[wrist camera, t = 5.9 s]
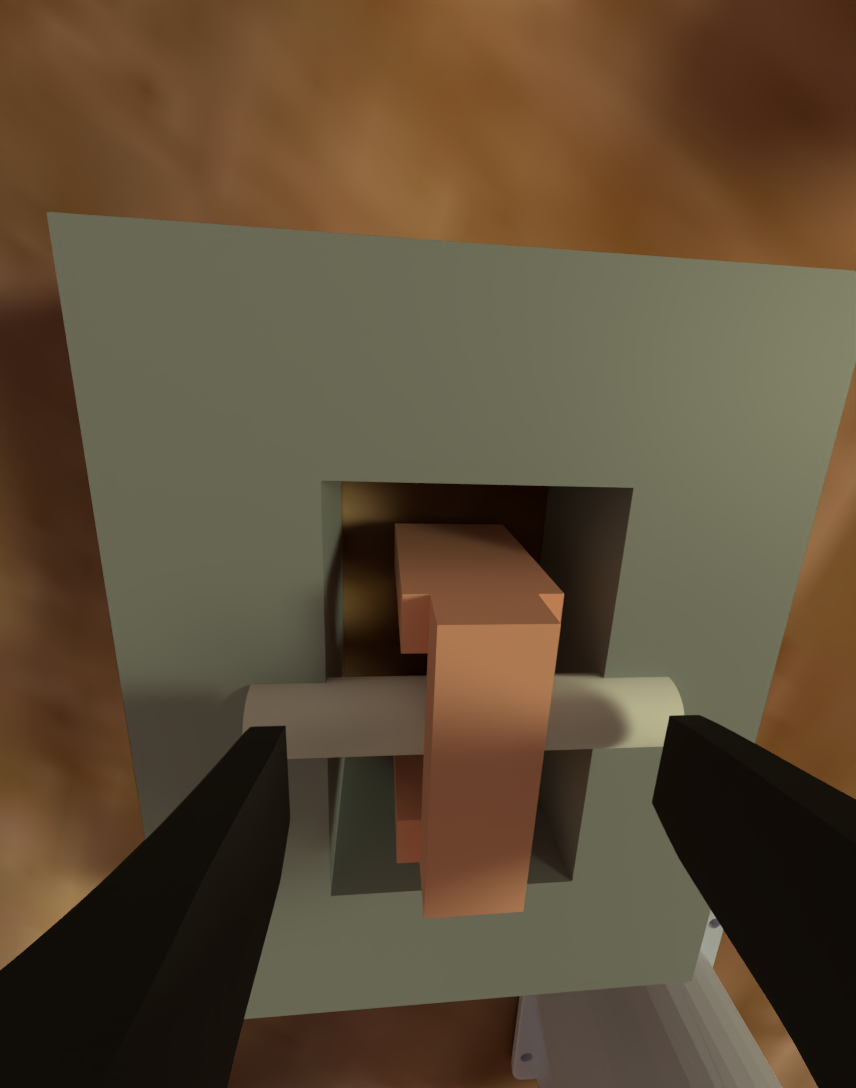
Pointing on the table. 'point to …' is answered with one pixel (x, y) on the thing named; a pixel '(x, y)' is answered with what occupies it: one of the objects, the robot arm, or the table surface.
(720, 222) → the table surface
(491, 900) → the orange arch block
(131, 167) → the table surface
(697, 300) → the grey panel with window
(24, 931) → the table surface
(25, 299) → the table surface
